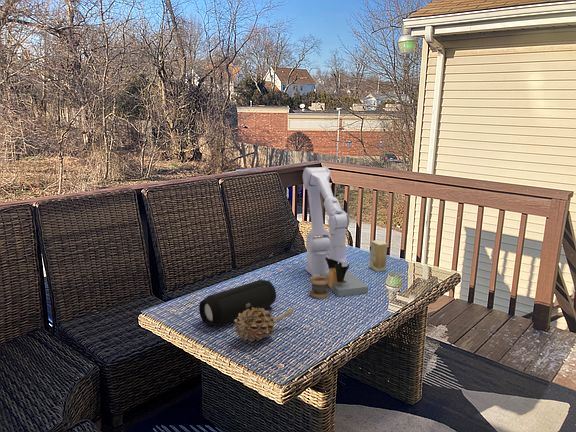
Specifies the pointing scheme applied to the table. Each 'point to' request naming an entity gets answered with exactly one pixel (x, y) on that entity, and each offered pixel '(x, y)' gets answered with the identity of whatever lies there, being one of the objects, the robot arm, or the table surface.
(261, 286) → the portable speaker
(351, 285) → the notched board
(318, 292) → the bobbin post
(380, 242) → the skincare box
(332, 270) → the orange rectangular block
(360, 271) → the table surface
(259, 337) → the brown knobbly handled piece
